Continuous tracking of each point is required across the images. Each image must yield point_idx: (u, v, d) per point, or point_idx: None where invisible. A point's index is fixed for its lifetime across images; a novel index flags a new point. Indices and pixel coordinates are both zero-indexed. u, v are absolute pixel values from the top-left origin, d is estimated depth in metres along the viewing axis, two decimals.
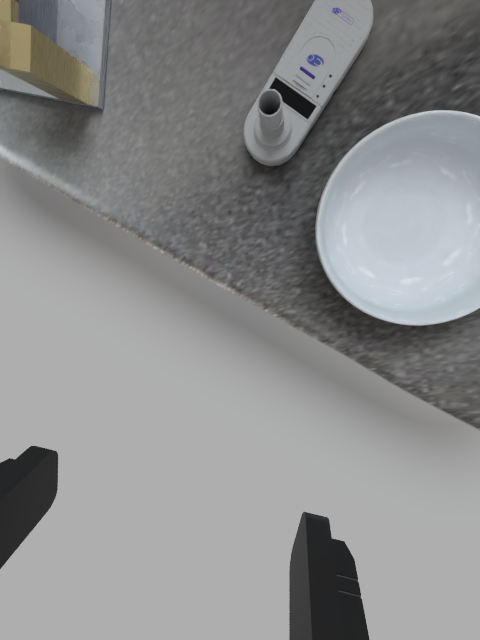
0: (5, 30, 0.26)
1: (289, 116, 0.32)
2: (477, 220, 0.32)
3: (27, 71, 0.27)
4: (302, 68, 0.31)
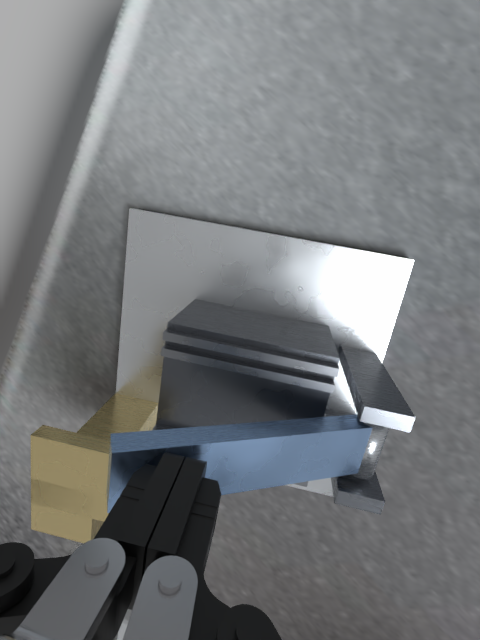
0: (79, 508, 0.16)
1: None
2: None
3: (33, 523, 0.17)
4: None
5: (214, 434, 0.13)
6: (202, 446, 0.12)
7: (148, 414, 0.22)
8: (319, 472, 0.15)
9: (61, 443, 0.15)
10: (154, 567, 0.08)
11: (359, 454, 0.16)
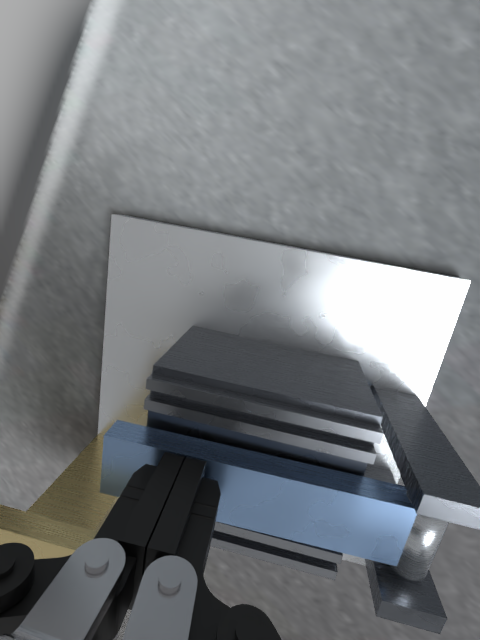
0: None
1: None
2: None
3: None
4: None
5: (207, 450, 0.12)
6: None
7: None
8: (335, 542, 0.12)
9: (6, 531, 0.11)
10: (154, 567, 0.08)
11: (397, 540, 0.12)
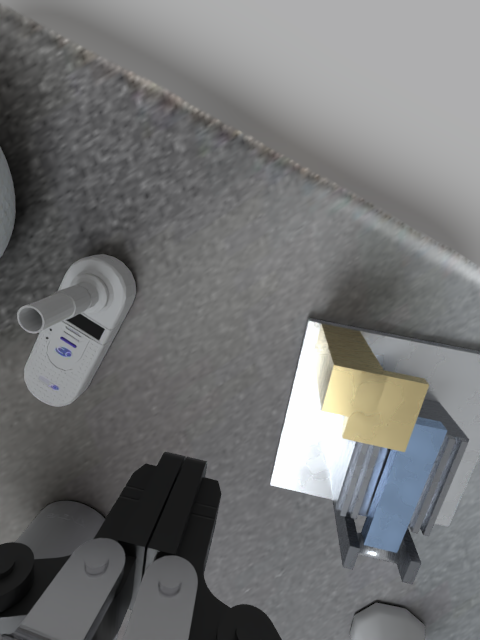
0: (358, 409, 0.21)
1: None
2: None
3: (338, 366, 0.20)
4: (73, 346, 0.30)
5: None
6: (429, 467, 0.23)
7: None
8: (376, 523, 0.25)
9: (420, 407, 0.20)
10: (154, 567, 0.08)
11: (379, 545, 0.26)
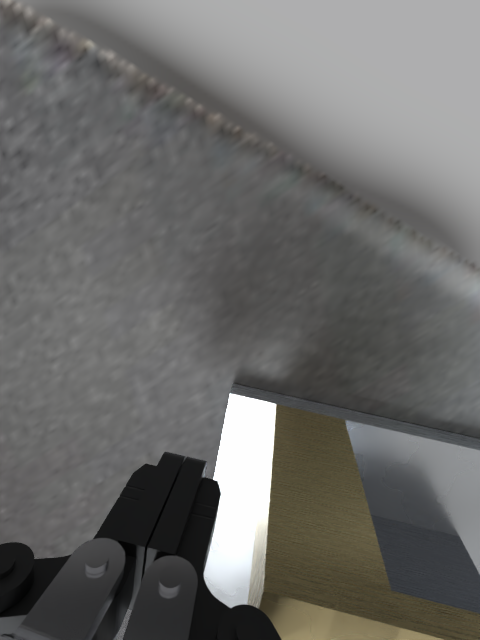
0: None
1: None
2: None
3: (275, 591, 0.08)
4: None
5: None
6: None
7: None
8: None
9: None
10: (154, 567, 0.08)
11: None
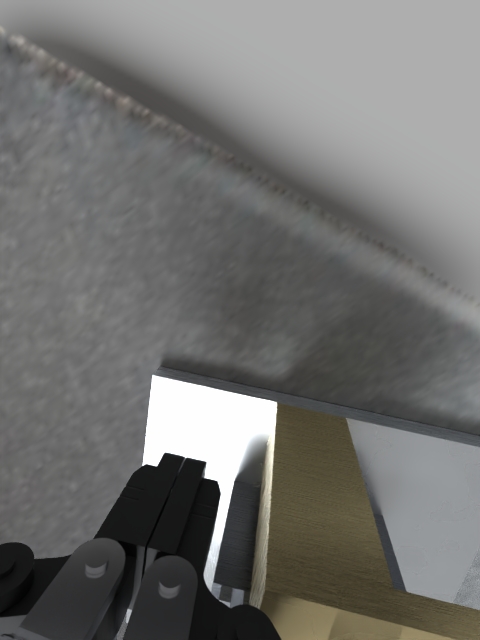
0: None
1: None
2: None
3: (277, 590, 0.08)
4: None
5: None
6: None
7: None
8: None
9: None
10: (154, 567, 0.08)
11: None
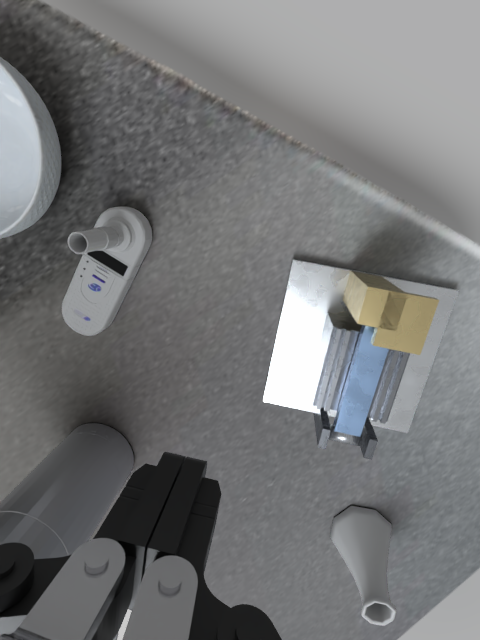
0: (385, 321, 0.28)
1: None
2: None
3: (371, 287, 0.27)
4: (102, 282, 0.37)
5: None
6: (382, 363, 0.31)
7: None
8: (344, 412, 0.33)
9: (432, 318, 0.27)
10: (154, 567, 0.08)
11: (346, 431, 0.33)
